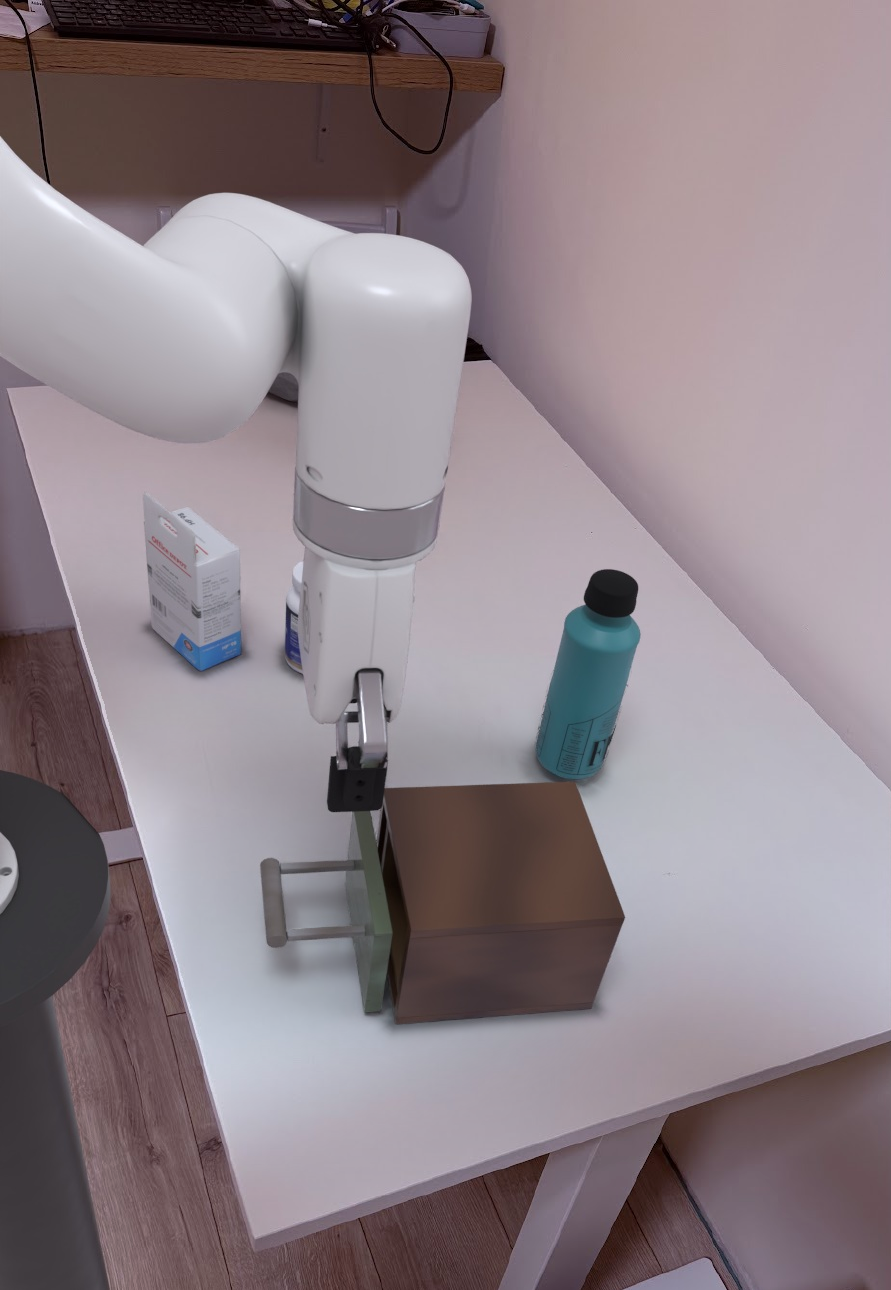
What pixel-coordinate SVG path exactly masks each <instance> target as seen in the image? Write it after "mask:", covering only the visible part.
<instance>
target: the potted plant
mask: <svg viewBox="0 0 891 1290" xmlns="http://www.w3.org/2000/svg"><path fill="white" fill-rule="evenodd" d="M298 392H299V385H298V381H297V379H296V378H295V377H294V376H293V375H292V374H290V373H288V372H282V373H279V374H278V375H277V377H276V378H275V380H274V382H273V384H272V385H271V387H270V389H269V391H268V393H270V394H273V395H275V396H277V397H280V398H281V399H284V400H286V401H290V402H297V403H298Z"/></svg>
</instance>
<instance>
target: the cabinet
mask: <svg viewBox="0 0 891 1290" xmlns="http://www.w3.org/2000/svg"><path fill="white" fill-rule="evenodd" d="M378 817H379V818H378V825H377V831H376V832H377V833H376V844H377V849H378V855H379V860H380V866H381V863H382V855H383V848H384V840H385V832H386V825H387V823H388V828H389V834H390V839H391V844H392V849H393V854H394V859H395V864H396V869H397V874H398V879H399V884H400V890H401V895H402V900H403V905H404V910H405V915H406V920H407V925H408V933H407V939H406V945H405V951H404V957H403V963H402V969H401V975H400V982H399V988H398V993H397V988H396V982H395V977H394V971H393V965H392V960H391V954H390V955H389V962H388V968H387V975H386V980H387V983H388V990H389V997H390V1001H391V1006H392V1012H393V1018H394V1024H395V1025H403V1024H416V1023H430V1022H440V1021H453V1020H465V1019H478V1018H491V1017H504V1016H515V1015H516V1016H517V1015H528V1014H529V1015H530V1014H539V1013H540V1014H541V1013H554V1012H564V1011H579V1010H589V1009H592V1007H593V1005H594V1002H595V999H596V997H597V994H598V992H599V988H600V986H601V983H602V980H603V978H604V975H605V973H606V970H607V967H608V965H609V962H610V960H611V956H612V954H613V951H614V948H615V946H616V943H617V941H618V938H619V935H620V933H621V930H622V927H623V924H624V922H625V920H626V915H625V912H624V909H623V907H622V904H621V902H620V898H619V896H618V893H617V890H616V888H615V886H614V883H613V880H612V878H611V875H610V872H609V870H608V866H607V864H606V861H605V859H604V855H603V853H602V850H601V848H600V845H599V842H598V839H597V837H596V833H595V831H594V828H593V826H592V823H591V820H590V818H589V815H588V813H587V810H586V807H585V804H584V801H583V799H582V796H581V794H580V791H579V788H578V785H577V782H576V781H575V780H574V781H552V782H551V781H549V782H547V781H546V782H521V783H520V782H519V783H516V782H515V783H492V784H491V783H489V784H464V785H463V784H460V785H434V786H433V785H432V786H430V785H429V786H405V787H404V786H403V787H401V786H400V787H385V790H384V797H383V805H382V808H381V809H379V816H378Z"/></svg>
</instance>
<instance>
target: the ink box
mask: <svg viewBox="0 0 891 1290" xmlns="http://www.w3.org/2000/svg"><path fill="white" fill-rule="evenodd" d="M142 507H143V517H144V518H143V519H144V521H143V529H144V543H145V556H146V570H147V582H148V593H149V594H148V595H149V609H150V623H151V628H152V630H153V631H154V632H156V633H157V634H158V635H159V636H160V637H161V638H163V640H165V641H166V643H168V644H169V645H170V646H171V647H172V648H173V649H175V651H176V652H178V653H179V654H180V655H181V656H182V657H183V658H184V659H186V661H188V662H189V663H190V664H191V665H192V666H193V667H194V668H195V669H196V670H198V671H201V672H203V671H205V670H207V669H210V668H212V667H215V666H216V665H219V664H221V663H224V662H226V661H228V660H230V659H232V658H236V657H237V656H240V655H241V653H242V616H241V615H242V611H241V610H242V608H241V606H242V605H241V603H242V602H241V601H242V599H241V596H242V595H241V594H242V593H241V548H240V547H238V546H237V544H235V543H233V541H231V540H230V539H229V538H227V537H226V536H225V535H223V534H222V533H221V532H220V531H219V530H218V529H216V528H215V527H214V526H212V525H211V524H210V523H208V521H206V520H205V519H204V518H203V517H201V516H200V515H199V514H197V513H196V512H195V511H194V510H193V509H192V508H191V507H189V506H186V507H182V508H179V509H175V510H172V511H170V510H169V509H168V508H166V507H165V506H164V505H163V504H161V503H160V501H157V500H156V499H155V498H154V497H152V496H151V495H150V494H149V493H148V492H146V491H143V492H142Z"/></svg>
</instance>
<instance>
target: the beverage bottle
mask: <svg viewBox="0 0 891 1290" xmlns="http://www.w3.org/2000/svg"><path fill="white" fill-rule="evenodd" d="M589 578H590V579H589V580H588V584H587V587H586V589H585V591H584V594H583V602H584V604H582V605H579V606H578V607H575V608H573V609H572V610H571V611H570V612H568V614H567V615H566V617H565V619H564V623H563V630H562V634H561V638H560V643H559V647H558V651H557V655H556V659H555V664H554V666H553V670H552V672H551V675H550V677H551V678H550V677H549V678H550V682H549V685H548V686H546V688H547V690H546V692H545V693H546V698H545V701H544V703H543V706H542V708H541V709H542V710H541V711H542V712H541V715H540V716H541V717H540V718H541V720H540V724H538V727H537V730H538V731H537V734H536V736H535V739H534V740H535V741H536V742H535V748H534V750H535V753H536V757H537V759H538V762H539V763H540V764H541V766H542V767H543V768H544V769H546V770H547V771H548V772H550V773H552V774H553V775H556V776H558V777H561V778H564V779H570V780H584V779H587V778H590V777H591V778H592V777H593V776H594V775H595V774H597V773H598V772H599V771H600V770H601V768H602V767H604V763H606V761H607V758H608V755H609V753H608V750H609V747H610V746H611V743H612V740H613V737H614V734H615V731H616V728H617V723H618V721H619V719H618V716H619V714H621V711H622V705H621V704H622V702H623V698H624V695H625V692H626V689H627V687H629V684H628V681H629V677H630V674H631V670H632V666H633V662H634V658H635V655H636V652H637V648H638V645H639V644H640V640H641V629H640V627H639V625H638V623H637V622H636V620H635V619H634V618H633V617H632V616H631V615H632V614H633V613H634V611H635V609H636V606H637V600H638V599H637V598H638V595H639V594H638V593H639V584H638V581H637V580H636V579H635V578H634V577H633V576H632V575H630V574H628V573H627V572H624V571H621V570H618V569H612V568H603V569H599V570H597V571H595V572H593V574H591V576H590V577H589Z"/></svg>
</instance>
